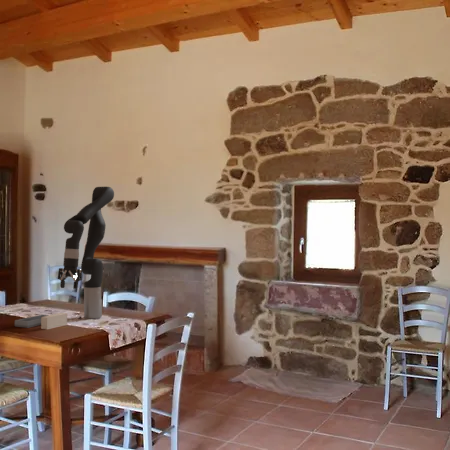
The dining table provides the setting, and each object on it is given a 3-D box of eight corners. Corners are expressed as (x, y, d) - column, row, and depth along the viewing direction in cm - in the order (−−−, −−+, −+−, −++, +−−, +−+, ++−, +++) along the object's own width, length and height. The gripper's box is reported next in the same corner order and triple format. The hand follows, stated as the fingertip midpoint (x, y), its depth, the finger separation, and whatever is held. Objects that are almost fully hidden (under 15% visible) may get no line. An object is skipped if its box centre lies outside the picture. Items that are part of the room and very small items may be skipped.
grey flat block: (42, 320, 288) (42, 314, 288) (54, 321, 285) (54, 315, 285) (14, 326, 271) (14, 320, 271) (27, 327, 267) (27, 321, 267)
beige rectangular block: (61, 324, 278) (61, 312, 278) (67, 324, 276) (67, 313, 276) (41, 329, 266) (41, 317, 266) (47, 329, 264) (47, 317, 264)
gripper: (86, 258, 282) (84, 289, 281) (65, 257, 288) (63, 287, 287) (77, 257, 276) (74, 289, 274) (56, 256, 281) (53, 287, 280)
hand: (68, 288), depth 280 cm, fingers open, 8 cm apart
